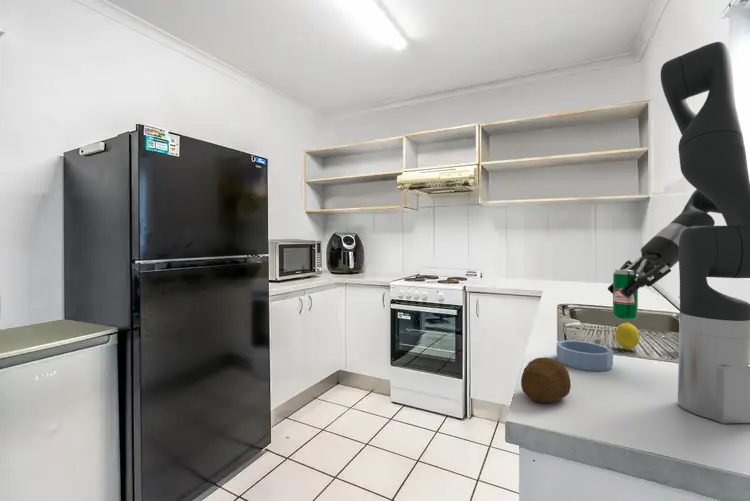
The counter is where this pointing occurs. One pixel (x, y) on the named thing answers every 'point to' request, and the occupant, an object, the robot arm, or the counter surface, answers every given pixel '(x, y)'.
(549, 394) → the potato
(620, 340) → the lemon
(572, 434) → the counter surface
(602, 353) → the bowl
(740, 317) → the robot arm
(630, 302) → the soda can
